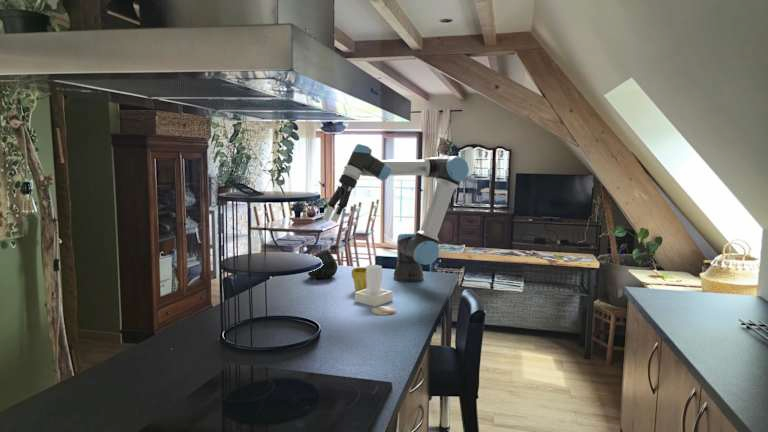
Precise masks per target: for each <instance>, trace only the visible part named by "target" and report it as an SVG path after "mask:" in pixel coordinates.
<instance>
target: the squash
mask: <svg viewBox="0 0 768 432" xmlns="http://www.w3.org/2000/svg"><path fill="white" fill-rule="evenodd" d="M313 256H316V257H319V258H320V259H321V260H322V262H323V264H324V265H323V266H322V267H321V268H319V269H317V270H315V271H312V272H309V273H308V272H307V274H308V276H309V277H311V278H313V279H319V278H320V279H332V278H333V277H334V276H335V274H337V270H338V263H337V261H336V259H335V257H334V256H333V255H332V253H331V252H330V251H329V250H328V249H325V250H322V251H319V252H318V253H315V254H313Z"/></svg>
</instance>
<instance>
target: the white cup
mask: <svg viewBox="0 0 768 432" xmlns="http://www.w3.org/2000/svg"><path fill="white" fill-rule="evenodd" d="M365 268H366V283H367V294H369V295H374V296H377V295H380V290H381V289H382V279H383V278H382V277H383V267H382V265H379V264H368V265H366V266H365Z"/></svg>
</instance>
